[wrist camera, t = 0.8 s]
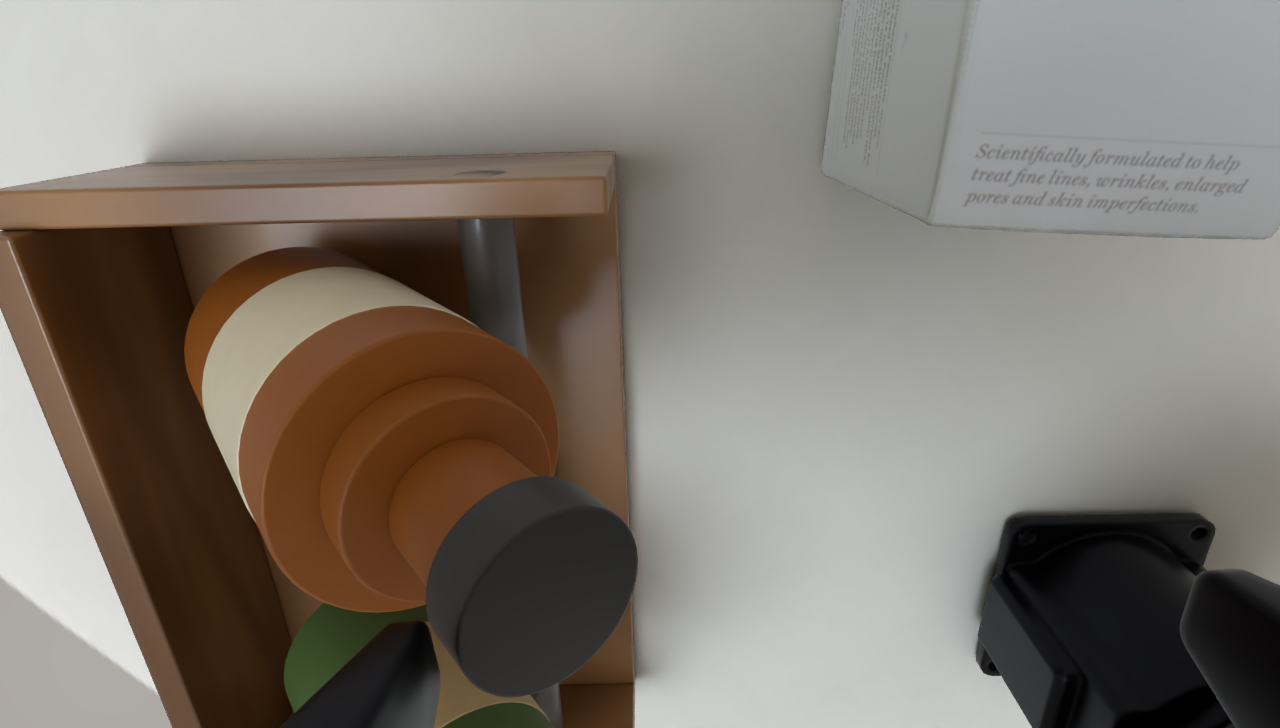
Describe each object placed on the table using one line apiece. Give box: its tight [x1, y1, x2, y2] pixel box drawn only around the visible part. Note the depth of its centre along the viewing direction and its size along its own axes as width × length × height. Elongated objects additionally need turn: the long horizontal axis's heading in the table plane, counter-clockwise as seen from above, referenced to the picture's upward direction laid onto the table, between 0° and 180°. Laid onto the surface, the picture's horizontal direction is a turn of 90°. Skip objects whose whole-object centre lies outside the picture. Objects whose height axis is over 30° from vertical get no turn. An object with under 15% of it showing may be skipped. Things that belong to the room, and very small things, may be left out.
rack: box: [0, 151, 635, 728], centre depth 19 cm, size 12×19×5 cm, turn 1°
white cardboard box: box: [821, 0, 1280, 239], centre depth 14 cm, size 6×6×7 cm
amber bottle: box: [184, 247, 638, 697], centre depth 13 cm, size 10×5×12 cm, turn 91°
